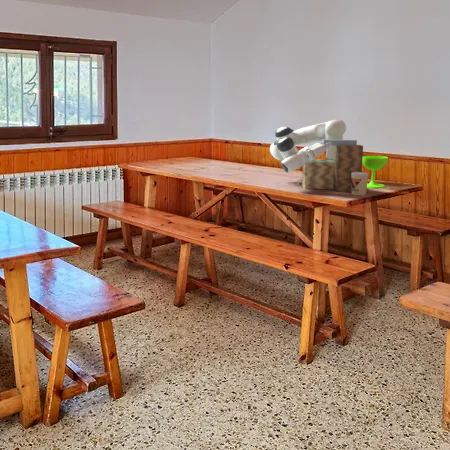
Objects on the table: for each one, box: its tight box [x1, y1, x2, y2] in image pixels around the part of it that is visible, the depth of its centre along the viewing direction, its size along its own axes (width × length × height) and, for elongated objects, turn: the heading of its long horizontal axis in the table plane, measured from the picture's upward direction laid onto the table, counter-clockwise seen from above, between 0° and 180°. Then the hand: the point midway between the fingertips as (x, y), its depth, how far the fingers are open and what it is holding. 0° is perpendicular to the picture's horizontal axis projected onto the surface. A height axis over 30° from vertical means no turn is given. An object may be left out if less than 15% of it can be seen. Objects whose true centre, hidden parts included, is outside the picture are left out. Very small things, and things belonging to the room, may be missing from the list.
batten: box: [322, 139, 358, 146], centre depth 344 cm, size 19×3×3 cm, turn 92°
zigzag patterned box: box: [301, 159, 335, 190], centre depth 359 cm, size 24×10×16 cm, turn 92°
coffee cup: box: [351, 171, 369, 196], centre depth 335 cm, size 9×9×12 cm
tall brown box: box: [332, 144, 364, 192], centre depth 347 cm, size 14×9×26 cm, turn 92°
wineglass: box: [362, 155, 389, 190], centre depth 363 cm, size 16×16×18 cm
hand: (329, 142), depth 344 cm, fingers open, 8 cm apart
